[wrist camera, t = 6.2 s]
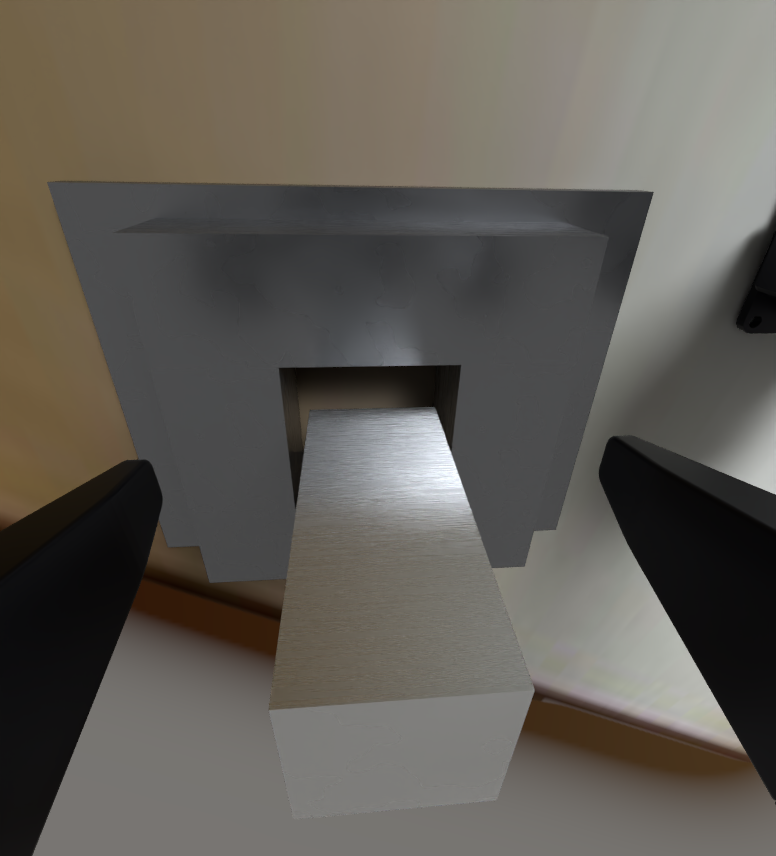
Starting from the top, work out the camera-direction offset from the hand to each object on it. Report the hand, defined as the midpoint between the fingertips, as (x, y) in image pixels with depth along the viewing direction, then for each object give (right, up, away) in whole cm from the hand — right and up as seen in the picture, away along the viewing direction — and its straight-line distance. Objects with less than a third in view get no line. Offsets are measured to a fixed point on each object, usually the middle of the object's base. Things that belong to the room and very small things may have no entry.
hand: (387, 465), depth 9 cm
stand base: (-1, +2, +11) cm, 11 cm away
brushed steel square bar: (-1, 0, +6) cm, 7 cm away
